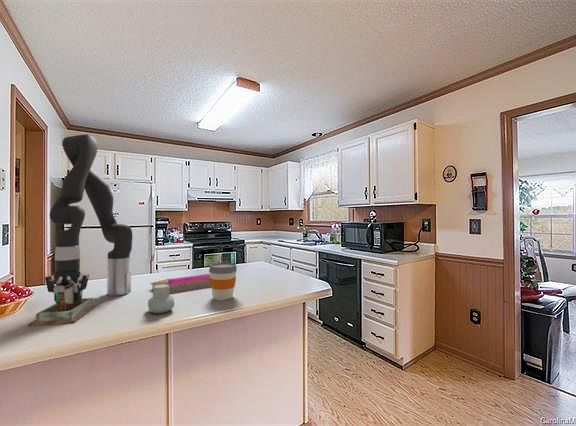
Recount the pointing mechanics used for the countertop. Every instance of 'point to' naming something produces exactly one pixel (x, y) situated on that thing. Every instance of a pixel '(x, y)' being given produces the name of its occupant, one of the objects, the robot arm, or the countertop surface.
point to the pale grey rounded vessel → (160, 299)
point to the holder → (63, 314)
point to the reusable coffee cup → (222, 280)
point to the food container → (66, 297)
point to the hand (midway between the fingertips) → (67, 301)
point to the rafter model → (198, 280)
